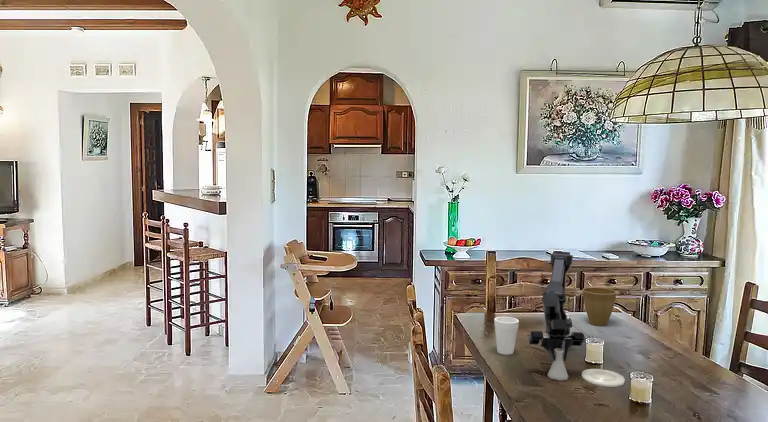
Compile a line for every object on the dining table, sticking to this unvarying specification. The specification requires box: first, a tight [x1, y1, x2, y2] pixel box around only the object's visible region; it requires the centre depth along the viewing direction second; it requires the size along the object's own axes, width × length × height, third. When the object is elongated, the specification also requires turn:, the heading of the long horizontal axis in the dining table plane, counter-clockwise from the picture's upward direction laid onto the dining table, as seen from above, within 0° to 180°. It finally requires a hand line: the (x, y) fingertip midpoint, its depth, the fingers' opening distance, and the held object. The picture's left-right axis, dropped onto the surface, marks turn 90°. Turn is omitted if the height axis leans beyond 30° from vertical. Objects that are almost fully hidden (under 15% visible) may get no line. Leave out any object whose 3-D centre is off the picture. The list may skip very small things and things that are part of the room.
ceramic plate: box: [581, 368, 626, 388], centre depth 199 cm, size 14×14×1 cm
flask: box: [547, 348, 569, 381], centre depth 200 cm, size 7×7×10 cm
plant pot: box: [582, 287, 618, 327], centre depth 267 cm, size 15×15×16 cm
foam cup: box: [493, 316, 520, 356], centre depth 225 cm, size 10×9×13 cm
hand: (559, 360), depth 198 cm, fingers open, 3 cm apart
